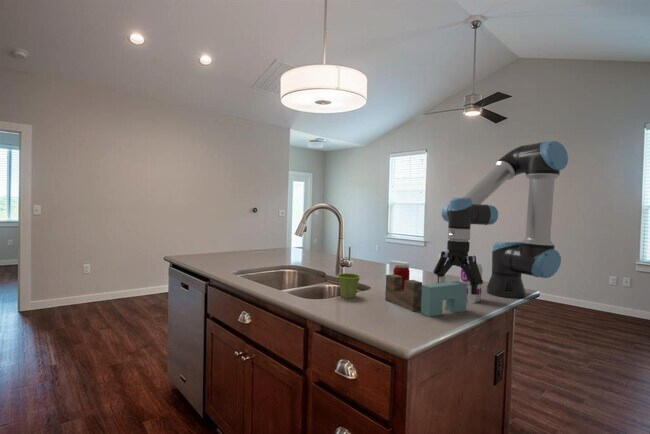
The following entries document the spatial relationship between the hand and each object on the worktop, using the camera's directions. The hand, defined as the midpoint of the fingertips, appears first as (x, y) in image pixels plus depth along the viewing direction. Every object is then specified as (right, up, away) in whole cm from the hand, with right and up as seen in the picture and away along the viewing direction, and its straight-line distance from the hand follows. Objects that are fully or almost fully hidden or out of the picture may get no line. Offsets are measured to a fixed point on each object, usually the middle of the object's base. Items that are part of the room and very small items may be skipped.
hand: (455, 298), depth 126 cm
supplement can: (+12, -4, +15) cm, 20 cm away
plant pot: (-38, -3, +15) cm, 41 cm away
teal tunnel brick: (-5, -4, -3) cm, 7 cm away
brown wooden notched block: (-18, -4, +5) cm, 19 cm away
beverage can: (-15, -3, +21) cm, 27 cm away
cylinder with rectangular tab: (-14, -3, +34) cm, 36 cm away
